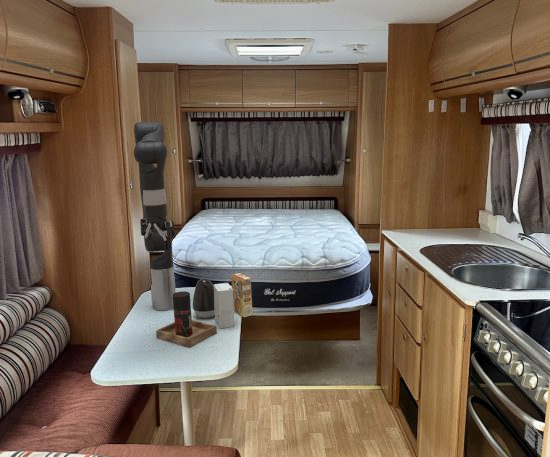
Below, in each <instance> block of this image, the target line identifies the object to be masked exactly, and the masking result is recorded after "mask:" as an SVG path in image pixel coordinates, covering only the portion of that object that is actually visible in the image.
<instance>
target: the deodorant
mask: <svg viewBox="0 0 550 457" xmlns="http://www.w3.org/2000/svg"><path fill="white" fill-rule="evenodd" d="M173 307H174V308H173V316H174V317H173V318H174V319H173V320H174V322H175V332H176V335H179V336H183V337H190V336H191V335H192V334H193V330H192V320H193V319H192V305H191V293H190V292H189V291H186V290H185V291H176V293H174V294H173Z"/></svg>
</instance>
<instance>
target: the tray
mask: <svg viewBox="0 0 550 457" xmlns="http://www.w3.org/2000/svg"><path fill="white" fill-rule="evenodd" d="M217 327H218V326H217V325H214V324H211V323H206V322H203V321H199V320H196V319H195V320H194V319H192V330H193V334H192V335H191V336H190V337H183V336H179V335H176V332H175V321H174V322H172V323H169V324H166V325H165V326H163V327H161V328H158V329H156V330H155V336H156V339H159V340H163V341H164V342H165V341H166V342H169V343H172V344H176V345H179V346H183V347H186V348H189V349H190V348H192V347H194V346H195V345H197V344H200V343H202V342H203V341H204V340H207V339H208V338H210V337H213V336H215V335H216V334H218V330H217V329H218V328H217Z"/></svg>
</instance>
